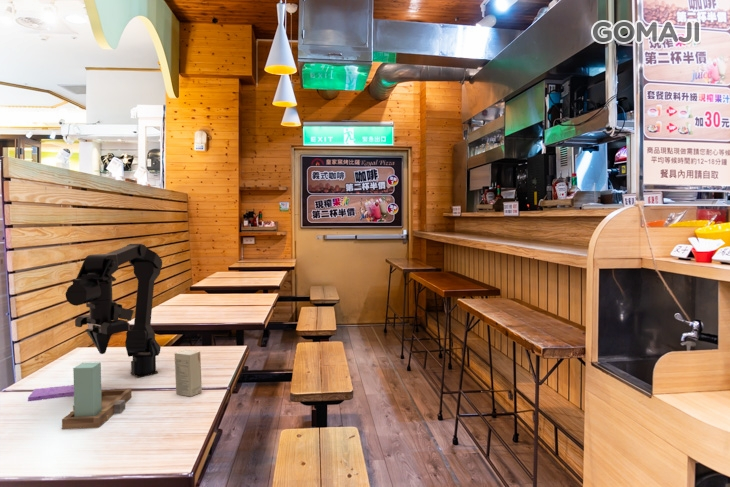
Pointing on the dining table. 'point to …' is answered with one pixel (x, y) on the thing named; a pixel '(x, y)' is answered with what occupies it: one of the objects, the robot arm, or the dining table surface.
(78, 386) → the grey-green tall block
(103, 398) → the wooden tray
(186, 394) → the skincare box
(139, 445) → the dining table surface
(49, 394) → the sponges
